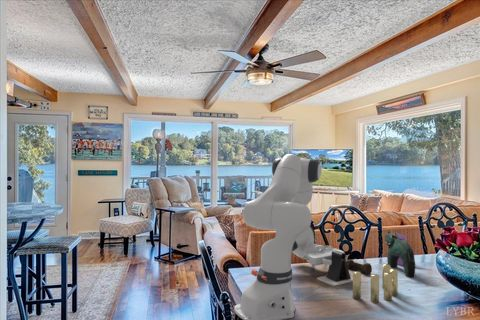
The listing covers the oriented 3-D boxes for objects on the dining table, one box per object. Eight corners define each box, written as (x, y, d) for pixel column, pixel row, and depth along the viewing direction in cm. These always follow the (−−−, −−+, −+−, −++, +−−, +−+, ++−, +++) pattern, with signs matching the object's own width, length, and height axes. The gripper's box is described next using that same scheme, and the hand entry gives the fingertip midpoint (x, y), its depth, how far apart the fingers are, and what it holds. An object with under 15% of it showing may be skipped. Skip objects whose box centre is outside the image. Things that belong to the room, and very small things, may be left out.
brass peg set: (373, 307, 117) (373, 280, 117) (351, 297, 125) (351, 272, 125) (407, 294, 128) (407, 269, 128) (385, 286, 137) (385, 263, 137)
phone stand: (335, 282, 140) (335, 254, 140) (326, 277, 145) (326, 251, 145) (350, 279, 144) (350, 252, 144) (341, 274, 149) (341, 249, 149)
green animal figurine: (383, 264, 167) (383, 226, 167) (395, 264, 167) (395, 226, 167) (406, 278, 147) (406, 235, 147) (419, 278, 147) (419, 234, 148)
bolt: (344, 269, 164) (370, 277, 152) (338, 266, 162) (364, 273, 150) (347, 258, 166) (373, 265, 154) (341, 255, 164) (367, 261, 151)
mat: (333, 286, 137) (333, 284, 137) (316, 278, 145) (316, 277, 145) (358, 279, 145) (358, 278, 145) (340, 272, 153) (340, 271, 154)
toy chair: (393, 264, 167) (393, 236, 167) (389, 259, 175) (389, 232, 175) (410, 265, 165) (410, 237, 165) (405, 260, 174) (405, 233, 174)
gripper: (301, 250, 151) (322, 258, 139) (331, 244, 161) (353, 251, 150) (301, 263, 151) (322, 272, 139) (331, 257, 161) (353, 264, 150)
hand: (339, 261), depth 144 cm, fingers open, 8 cm apart
